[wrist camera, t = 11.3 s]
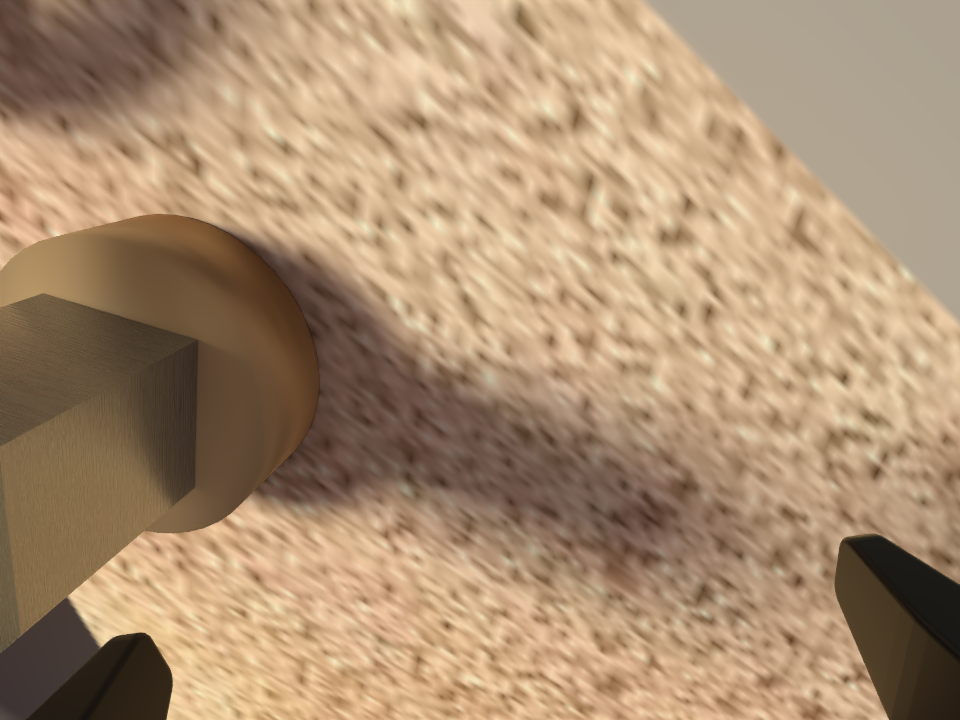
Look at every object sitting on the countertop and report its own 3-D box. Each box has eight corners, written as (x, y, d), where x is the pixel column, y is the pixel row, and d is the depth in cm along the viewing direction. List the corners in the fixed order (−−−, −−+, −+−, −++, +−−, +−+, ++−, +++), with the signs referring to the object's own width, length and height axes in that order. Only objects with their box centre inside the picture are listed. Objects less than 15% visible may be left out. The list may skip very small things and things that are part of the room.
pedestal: (369, 334, 22) (320, 375, 19) (249, 525, 26) (193, 584, 23) (117, 152, 22) (25, 162, 19) (39, 373, 26) (-46, 412, 23)
